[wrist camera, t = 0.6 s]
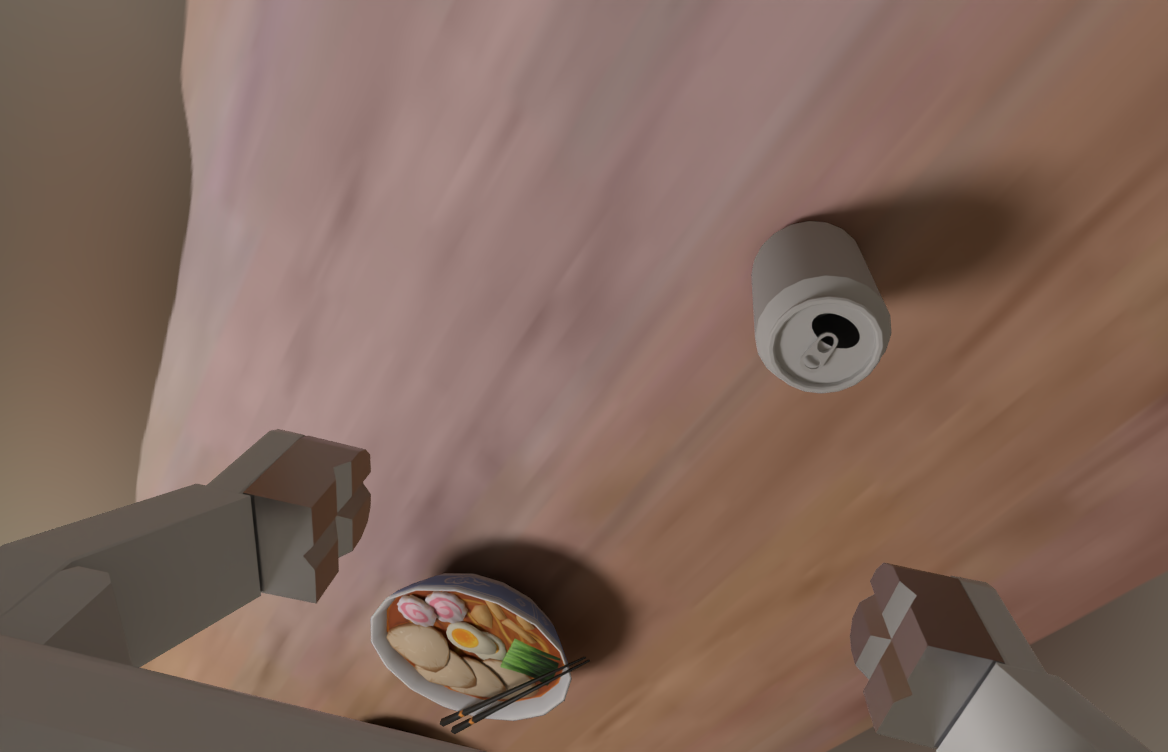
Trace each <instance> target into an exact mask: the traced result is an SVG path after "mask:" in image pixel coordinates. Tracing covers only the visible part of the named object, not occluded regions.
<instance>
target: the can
mask: <svg viewBox="0 0 1168 752" xmlns="http://www.w3.org/2000/svg"><path fill="white" fill-rule="evenodd" d="M751 276H752V293H753V310H754V327H755V339H756V345H757V350H758V354H759V356H760V358H761V359H762V361H763V362H764V364H765V366H766V367H767V369H769V370H770V371H771V372H772V373H773V374H775V375H776V376H777V377H778V378H779V379H781V380H783V381H785V382H786V383H787V384H788V385H790V386H792V387H795V388H797V389H800V390H802V391H806V392H814V393H828V392H836V391H841V390H843V389H846V388H848V387H851V386H853V385H856V384H857V383H858V382H860V381H861V380H863V379H864V378H865V377H867V376H868V375H869V374H870V373H871V372H872V371H873V369H874V368H875V367H876V365H877V364H878V363H879V361H880V358H881V357H882V355H883V354H884V353H885V351H886V348H887V345H888V342H889V339H890V336H891V320H890V314H889V312H888V310H887V307H886V305H885V303H884V301H883V299H882V297H881V295H880V292H879V290H878V288H877V286H876V284H875V282H874V279H873V277H872V275H871V273H870V271H869V269H868V267H867V264H866V262H865V260H864V258H863V256H862V254H861V252H860V250H859V248H858V246H857V244H856V242H855V240H854V239H853V238H852V237H851V236H850V235H849V234H847V233H846V232H845V231H844V230H843V229H841V228H839V227H836V226H834V225H832V224H829V223H826V222H814V221H807V222H802V223H797V224H792V225H789V226H788V227H786V228H784V229H782V230H780V231H778V232H776V233H774V234H773V235H772V236H771V237H770V238H769V239H768V240H767V241H766V242H765V243H764V244H763V245H762V247H761V248H760V250H759V252H758V254H757V256H756V257H755V259H754V264H753V269H752V275H751Z"/></svg>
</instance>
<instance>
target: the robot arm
mask: <svg viewBox="0 0 1168 752" xmlns="http://www.w3.org/2000/svg"><path fill="white" fill-rule="evenodd" d="M370 472H371V465H370V454H369V453H368V452H367V451H366V449H362V448H357V447H353V446H349V445H345V444H341V443H337V442H333V441H328V440H324V439H320V438H316V437H312V436H305V435H302V434H298V433H294V432H289V431H285V430H280V429H277V430H272V431H269V432H268V433H267V434H265V435H264V436H263V437H262V438H261V439H260V440H258V441H257V442H256V443H255V444H254V445H253V446H251V447H250V448H249V449H248V450H247V451H246V452H245V453H243V454H242V455H241V456H240V457H239V458H238V459H236V460H235V461H234V462H233V463H232V464H231V465H229V466H228V467H227V468H226V469H225V470H224V471H223V472H221V473H220V474H219V475H218V476H217V477H216V478H214V479H213V480H212V481H211V482H210V483H209V484H207V485H206V486H205V485H200V484H194V485H191V486H188V487H184V488H181V489H178V490H175V491H172V492H169V493H165V494H162V495H159V496H156V497H153V498H150V499H146V500H143V501H140V502H137V503H134V504H131V505H127V506H124V507H121V508H118V509H115V510H112V511H109V512H106V513H102V514H99V515H96V516H93V517H90V518H87V519H83V520H80V521H77V522H74V523H71V524H67V525H64V526H61V527H58V528H55V529H52V530H49V531H45V532H42V533H39V534H36V535H33V536H30V537H27V538H23V539H20V540H17V541H14V542H11V543H8V544H4V545H2V546H1V547H0V752H486V751H482V750H478V749H474V748H470V747H465V746H461V745H457V744H453V743H449V742H445V741H441V740H437V739H432V738H428V737H424V736H420V735H416V734H412V733H408V732H403V731H399V730H395V729H391V728H387V727H383V726H379V725H374V724H370V723H366V722H362V721H358V720H354V719H350V718H345V717H341V716H337V715H333V714H329V713H325V712H321V711H316V710H312V709H308V708H304V707H300V706H296V705H292V704H287V703H283V702H279V701H275V700H271V699H267V698H263V697H258V696H254V695H250V694H246V693H242V692H238V691H234V690H229V689H225V688H221V687H217V686H213V685H209V684H205V683H200V682H196V681H192V680H188V679H184V678H180V677H176V676H171V675H167V674H163V673H159V672H155V671H151V670H147V669H142V668H139V667H141V666H143V665H144V664H146V663H148V662H150V661H151V660H153V659H155V658H156V657H158V656H160V655H161V654H163V653H165V652H166V651H168V650H170V649H171V648H173V647H175V646H177V645H178V644H180V643H182V642H183V641H185V640H187V639H188V638H190V637H192V636H193V635H195V634H197V633H198V632H200V631H202V630H204V629H205V628H207V627H209V626H210V625H212V624H214V623H215V622H217V621H219V620H220V619H222V618H224V617H225V616H227V615H229V614H231V613H232V612H234V611H236V610H237V609H239V608H241V607H242V606H244V605H246V604H247V603H249V602H251V601H252V600H254V599H256V598H258V597H259V596H261V592H262V593H267V594H272V595H277V596H282V597H287V598H292V599H297V600H302V601H307V602H311V603H317V602H318V600H319V599H320V598H321V596H322V595H323V593H324V592H325V590H326V589H327V587H328V586H329V585H330V583H331V582H332V580H333V579H334V577H335V576H336V574H337V573H338V572H339V564H338V558H339V557H341V556H343V555H345V554H347V553H350V552H352V551H353V550H354V548H355V547H356V545H357V543H358V542H359V540H360V539H361V537H362V534H363V532H364V529H365V527H366V524H367V522H368V518H369V512H370V505H371V494H370V493H369V491H368V490H367V488H366V487H365V485H364V484H363V481H364V480H365V479H366V477H367V476H368V475H369V473H370ZM870 582H871V585H872V588H873V590H874V593H875V594H874V595H872V596H870V597H868V598H867V599H865V600H863V601H861V602H860V603H859V605H858V607H857V609H856V612H855V614H854V616H853V618H852V626H851V633H850V641H851V651H852V655H853V658H854V662H855V665H856V666H857V667H858V668H859V669H860V671H861V672H862V673H863V674H864V675H865V676H866V677H867V678H868V679H869V681H868V683H867V685H866V687H865V689H864V691H863V693H864V696H865V699H866V703H867V706H868V709H869V713H870V716H871V719H872V722H873V726H874V729H875V732H876V733H877V734H880V735H884V736H889V737H892V738H896V739H900V740H903V741H907V742H911V743H915V744H919V745H923V746H927V747H930V748H934V749H937V750H936V752H1152V751H1151V750H1149V749H1148V748H1147V747H1146V746H1145V745H1143V744H1142V743H1141V742H1140V741H1138V740H1137V739H1136V738H1135V737H1133V736H1132V735H1131V734H1129V733H1128V732H1127V731H1126V730H1125V729H1123V728H1122V727H1121V726H1119V725H1118V724H1117V723H1116V722H1115V721H1113V720H1112V719H1111V718H1110V717H1108V716H1107V715H1106V714H1105V713H1103V712H1102V711H1101V710H1100V709H1098V708H1097V707H1096V706H1095V705H1093V704H1092V703H1091V702H1090V701H1088V700H1087V699H1086V698H1085V697H1083V696H1082V695H1081V694H1079V693H1078V692H1077V691H1076V690H1075V689H1073V688H1072V687H1071V686H1070V685H1068V684H1067V683H1066V682H1065V681H1063V680H1062V679H1061V678H1060V677H1058V676H1054V675H1050V674H1047V673H1046V671H1045V670H1044V668H1043V667H1042V665H1041V663H1040V662H1039V660H1038V658H1037V657H1036V655H1035V653H1034V652H1033V650H1032V649H1031V647H1030V645H1029V644H1028V642H1027V640H1026V639H1025V637H1024V636H1023V634H1022V632H1021V631H1020V629H1019V627H1018V626H1017V624H1016V623H1015V621H1014V619H1013V618H1012V616H1011V614H1010V613H1009V611H1008V610H1007V608H1006V606H1005V605H1004V603H1003V601H1002V600H1001V598H1000V596H999V595H998V593H997V592H996V590H995V589H994V588H993V587H992V586H990V585H989V584H988V583H986V582H981V581H976V580H971V579H966V578H961V577H955V576H950V577H949V576H945V575H940V574H936V573H931V572H926V571H921V570H917V569H912V568H907V567H903V566H898V565H893V564H889V563H883V564H882V565H881V566H879V567H878V568H877V569H876V571H875V573H874V575H873V577H872V579H871V581H870Z"/></svg>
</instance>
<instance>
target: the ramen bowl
mask: <svg viewBox="0 0 1168 752" xmlns="http://www.w3.org/2000/svg"><path fill="white" fill-rule="evenodd" d="M371 643H372V644H373V646H374V648H375V649H376V651H377V653H378V654H379V656H380V658H381V660H382V661H383V663H384V665H385V666H386V667H387V668H388V669H389V670H390V671H391V672H392V673H393V674H395V675H396V676H397V677H398V678H399V679H400V680H401V681H402V682H403V683H405V684H406V685H407V686H408V687H409V688H410V689H411V690H413V691H415V692H417V693H419V694H421V695H423V696H424V697H426V698H428V699H430V700H432V701H434V702H436V703H437V704H439V705H441V706H443V707H446V708H449V709H452V710H455V711H458V712H456V713H454V714H452V715H449V716H447V717H445V718H442V719H441V721H440V725H442V726H443V727H444V726H446V725H448V724H450V723H452V722H454V721H456V720H458V719H460V718H462V717H463V716H466V715H471V716H473V717H472V718H469V719H467V720H465V721H463V722H461V723H459V724H457V725H455V726H453V727H452V730H451V732H452V733H454V734H456V733H458V732H460V731H462V730H464V729H465V728H467V727H469V726H471V725H472V724H473V723H476V722H478V721H480V720H482V719H484V718H486V719H498V720H510V721H516V720H521V719H527V718H532V717H538V716H543V715H545V714H547V713H548V712H549V711H551V710H552V709H554V708H555V707H556V706H558V705H559V704H560V703H562V702H563V701H565V697H566V694H567V691H568V688H569V685H570V682H571V679H572V678H571V674H570V672H571V671H572V670H574V669H576V668H578V667H580V666H582V665H583V664H585V663H587V662H589V661H590V660H587V661H585V662H583V663H581V664H579V665H577V666H574V667H572V668H570V669H569V666H571V665H573V664H575V663H577V662H579V661H581V660H583V659H585V658H586V657H583V658H580V659H578V660H576V661H573V662H571V663H569V664H568V662H567V659H566V656H565V654H564V651H563V648H562V645H561V643H560V640H559V637H558V635H557V632H556V630H555V627H554V626H553V624H552V623H551V621H550V619H549V618H548V617H547V616H546V615H545V614H544V612H543V611H542V610H541V609H540V608H539V607H538V606H537V605H536V604H535V603H534V602H533V600H532V599H531V598H529V597H527V596H526V595H524V594H522V593H521V592H519V591H517V590H515V589H514V588H512V587H510V586H509V585H507V584H505V583H503V582H500V581H497V580H494V579H490V578H487V577H484V576H480V575H477V574H461V573H444V574H441V575H437V576H434V577H431V578H428V579H425V580H422V581H419V582H417V583H414V584H411V585H409V586H407V587H404V588H402V589H400V590H398V591H396V592H395V593H393V594H392V595H390V596H389V597H387V598H386V599H385V600H384V601H383V603H382V604H381V605H380V607H379V608H378V609H377V610H376V612H375V613H374V614H373V616H372V617H371Z"/></svg>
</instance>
